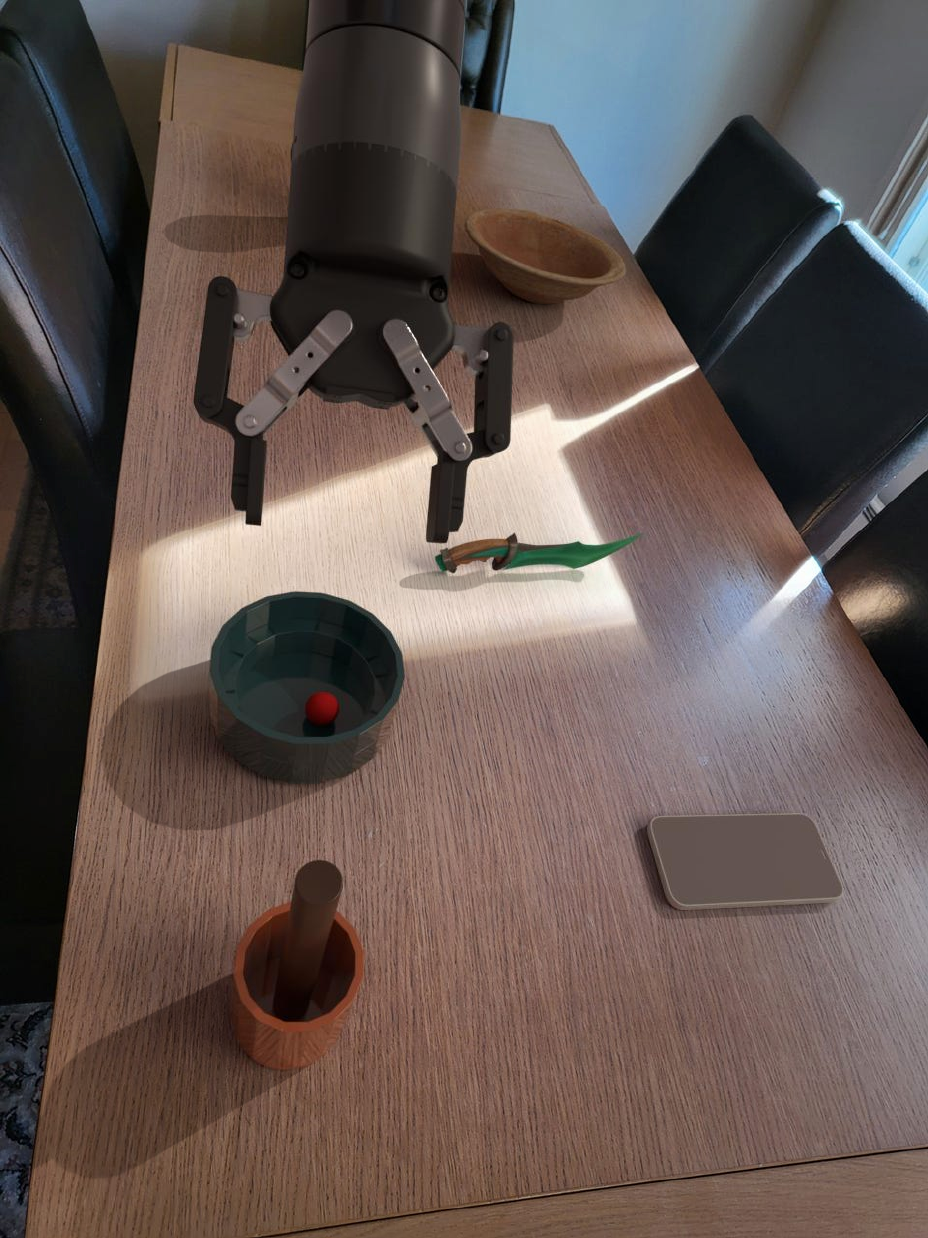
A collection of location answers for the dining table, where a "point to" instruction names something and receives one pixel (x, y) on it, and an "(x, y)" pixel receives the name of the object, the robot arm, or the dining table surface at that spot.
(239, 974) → the utensil cup
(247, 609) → the mixing bowl
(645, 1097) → the dining table surface
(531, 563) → the knife
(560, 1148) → the dining table surface
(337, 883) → the stirring stick
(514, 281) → the bowl
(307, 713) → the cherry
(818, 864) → the smartphone
